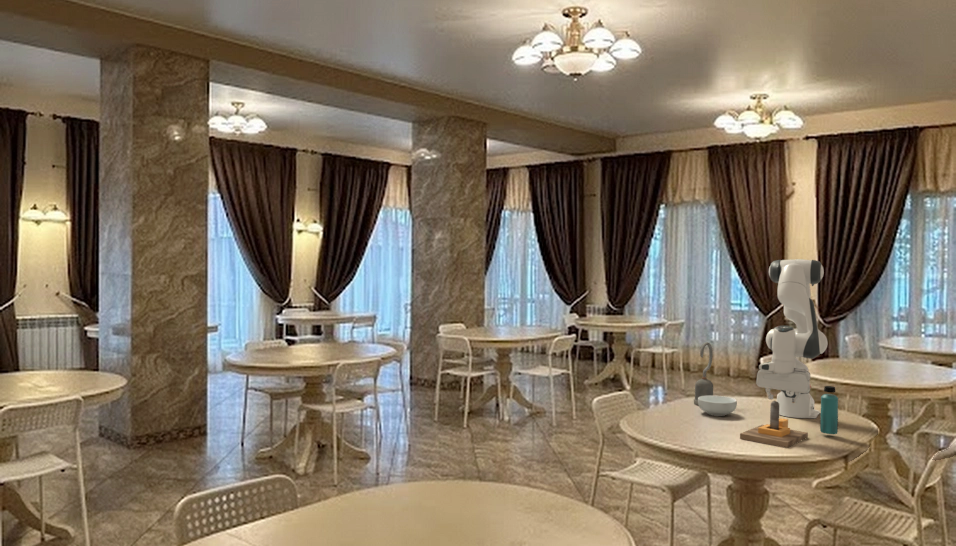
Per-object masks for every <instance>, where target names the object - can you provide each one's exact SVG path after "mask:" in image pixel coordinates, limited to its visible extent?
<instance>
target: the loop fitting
mask: <svg viewBox="0 0 956 546" xmlns="http://www.w3.org/2000/svg"><path fill="white" fill-rule="evenodd" d="M763 425H764V426H762V427H759V428H758V433H762V434H767V435H773V436H778V437H783V436H785V435H787V434H789V433H790V430H791V428H790V427H789V419H788V418H781V417H779V430H775V429H770V423H769V424H763Z"/></svg>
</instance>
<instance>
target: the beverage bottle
mask: <svg viewBox="0 0 956 546" xmlns="http://www.w3.org/2000/svg"><path fill="white" fill-rule="evenodd" d="M823 391H824V392H825V393H824V394H822V395H821V396H820V413H819V415H820V416H819V419H820V420H819V429H820V430H819V431H820V432H821V433H822V434H827V435H837V434H838V432H839V397H838V396H837V395H835V394H833V393H836V387H835V386H832V385H825V386H824V387H823Z"/></svg>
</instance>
